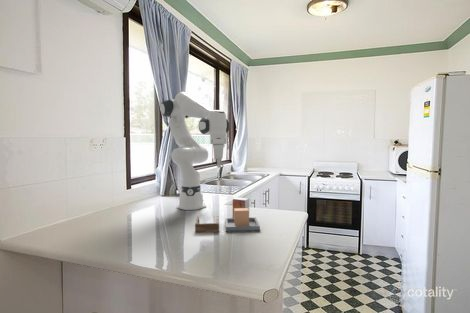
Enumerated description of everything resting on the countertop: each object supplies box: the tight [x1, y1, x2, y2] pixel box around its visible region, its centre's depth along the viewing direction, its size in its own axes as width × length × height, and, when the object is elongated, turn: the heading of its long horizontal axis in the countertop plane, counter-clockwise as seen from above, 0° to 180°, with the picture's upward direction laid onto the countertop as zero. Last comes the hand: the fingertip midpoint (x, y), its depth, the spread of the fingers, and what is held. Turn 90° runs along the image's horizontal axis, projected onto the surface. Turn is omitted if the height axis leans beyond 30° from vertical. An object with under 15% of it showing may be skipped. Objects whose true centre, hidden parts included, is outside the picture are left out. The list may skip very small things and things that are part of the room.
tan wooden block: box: [233, 208, 250, 226], centre depth 144 cm, size 5×7×8 cm
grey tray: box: [224, 216, 261, 233], centre depth 144 cm, size 15×16×2 cm
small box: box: [232, 196, 250, 218], centre depth 162 cm, size 8×6×10 cm
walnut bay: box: [194, 215, 220, 234], centre depth 143 cm, size 14×11×4 cm
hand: (218, 166), depth 155 cm, fingers open, 8 cm apart
